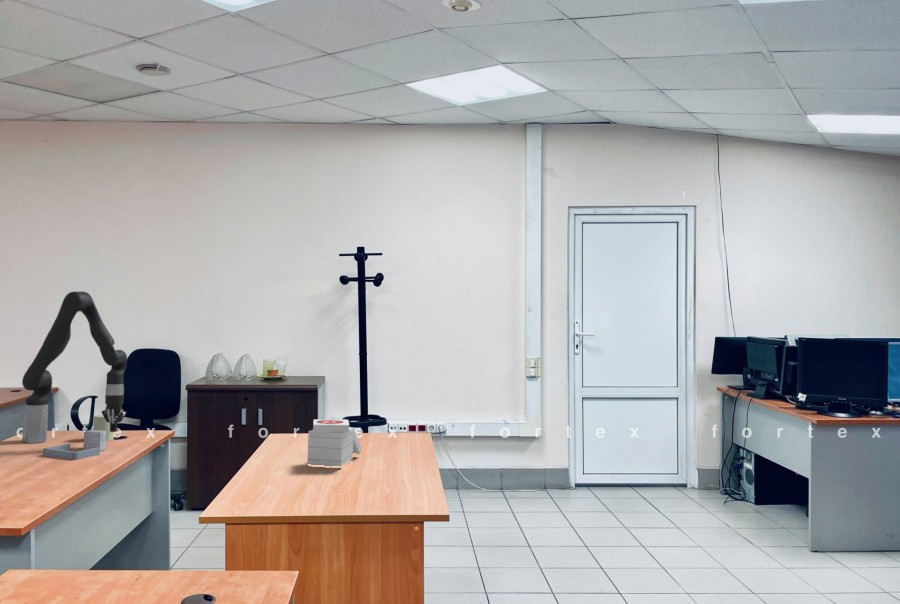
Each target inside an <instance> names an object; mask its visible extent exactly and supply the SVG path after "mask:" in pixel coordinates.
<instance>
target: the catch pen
mask: <svg viewBox="0 0 900 604" xmlns="http://www.w3.org/2000/svg"><path fill="white" fill-rule="evenodd" d="M42 449H43V450H42V456H45V457H52V458H58V459H66V460H71V461H72V460H73V461H76V460H81V459H85V458H91V457H95V456H100V452H101V451H100V448H98V447H97V448H92V449H87V450H83V449H82V450H78V451H71V444H70V443H66V444H65V443H64V444H60V445H55V446H54V445H53V446H49V447H44V448H42Z"/></svg>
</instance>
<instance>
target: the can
mask: <svg viewBox="0 0 900 604" xmlns="http://www.w3.org/2000/svg"><path fill="white" fill-rule="evenodd" d="M108 419H109V418H108ZM92 423H93V426H92V427H93V429H92V430H102V431H106V442H109V441H113V440H114V433H115V432H110V423H109V422H106V420H105V418H104V416H103V414H102V413H101V414H100V413H99V414H94V415H93V422H92Z"/></svg>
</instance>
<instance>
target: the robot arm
mask: <svg viewBox="0 0 900 604" xmlns="http://www.w3.org/2000/svg"><path fill="white" fill-rule="evenodd" d="M62 300H63V301H62V303H61V305H60V308H59V311H58V313H57V316H56V318H55V320H54V322H53V323H52V326H51V327H50V330H49V331H48V333H47V335H46V337H45V339H44V340H43V343H42V345H41V347H40V348H39V350H38V352H37V354H36V356H35V357H34V359H33V361H32V362H31V364H30V365H29V366H28V368H27V370H26V371H25V372H24V375H23V376H22V382H21V383H22V387H23V388H24V389H25V390H27V391H33V392H32V394H31V395H29V396H28V397H27V398H26V399H25V404H24V405H25V406H24V407H25V412H24V420H23V421H22V437H21V440H22V442H24V443H26V444H36V443H38V444H40V443H44V442H47V440H48V421H49V420H48V419H49V401H50V399H51V396H52V388H53V387H52V386H53V376H52V373H51V372H50V371H49V370H47V369H48V367H49V366H50V365H51V364H52V363H53V362H54V361H55V360H56V359H57V358H58V357H60V356H61V354H63V352H64V351H65V349H66V348H67V345H68V343H70V339H71V337H72V336H71V335H72V332H71V331H72V328H71V327H72V323H73V320H74V318H75V316H76V315H77V313H78V312H81V313H82V314H83V315H84V317H85V318H86V319H87V322H88V325H89V332H90V335H91V337H92V339H93V340H94V342H95V344H96V345H97V347H98V349H99V351H100V354H101V357H102V360H103V361H104V362H105V364H106V365H108V366H109V367H110V366H111V368H110V370H109V371H108V372H107V373H106V382H105V383H106V384H105V396H104V397H105V398H104V400H105V401H104V402H105V403H104V404H105V405H106V406H105V409H103V410H101V414H103V416H104V418H105V420H106V422H109V423H110V432H114V433H115V432H117V431H118V424H119V423H122V421H123V420H124V418H125V416H126V415H127V411H124V410H123V404H124V395H125V386H124V374H125V371H126V368H127V362H128V355H127V353H126V352H125V351H124V350H122V349H115V347H114V345H115V340H114V338H113V336H112V334H111V333H110V332H109V329H107V327H106V325H105V323H104V322H103V319H102V317H101V315H100V313H99V311H98V308H97V306H96V304H95V301H94V299H93V297H92V296H91V294H90V293H89V292H86V291H70V292H69V293H67V294H66V295H65V296H64V298H63V299H62ZM108 418H109V419H108Z"/></svg>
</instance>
